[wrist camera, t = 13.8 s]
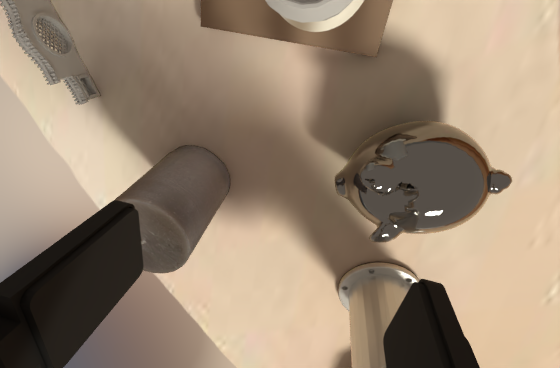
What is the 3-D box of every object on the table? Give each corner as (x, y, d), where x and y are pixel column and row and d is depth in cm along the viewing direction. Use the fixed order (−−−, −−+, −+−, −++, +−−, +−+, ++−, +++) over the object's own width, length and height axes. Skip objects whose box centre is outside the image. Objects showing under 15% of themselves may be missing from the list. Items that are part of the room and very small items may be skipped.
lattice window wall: (104, 96, 37) (67, 109, 32) (93, 99, 37) (55, 112, 32) (47, -12, 32) (-8, -17, 27) (35, -6, 32) (-21, -11, 27)
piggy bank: (327, 122, 34) (323, 165, 24) (471, 93, 29) (539, 130, 20) (342, 201, 39) (344, 263, 29) (468, 185, 34) (520, 251, 25)
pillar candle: (176, 204, 44) (112, 281, 31) (156, 144, 39) (71, 207, 26) (236, 204, 42) (195, 286, 29) (224, 142, 37) (167, 208, 24)
